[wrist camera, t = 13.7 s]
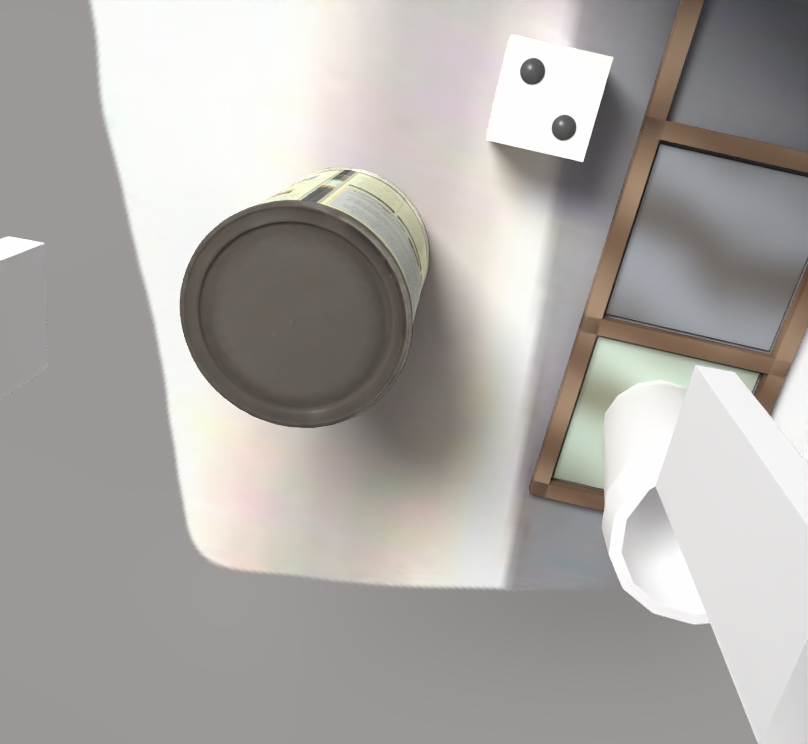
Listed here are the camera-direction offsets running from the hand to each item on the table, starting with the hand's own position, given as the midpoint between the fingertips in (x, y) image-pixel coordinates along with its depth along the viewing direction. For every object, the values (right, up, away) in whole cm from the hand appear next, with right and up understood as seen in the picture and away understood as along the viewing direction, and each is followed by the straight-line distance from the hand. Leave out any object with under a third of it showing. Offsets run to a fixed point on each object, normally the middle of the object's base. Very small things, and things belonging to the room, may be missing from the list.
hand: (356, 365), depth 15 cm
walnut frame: (+19, +7, +29) cm, 35 cm away
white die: (+9, +15, +27) cm, 32 cm away
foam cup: (+17, -4, +33) cm, 37 cm away
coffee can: (-2, +7, +31) cm, 32 cm away
